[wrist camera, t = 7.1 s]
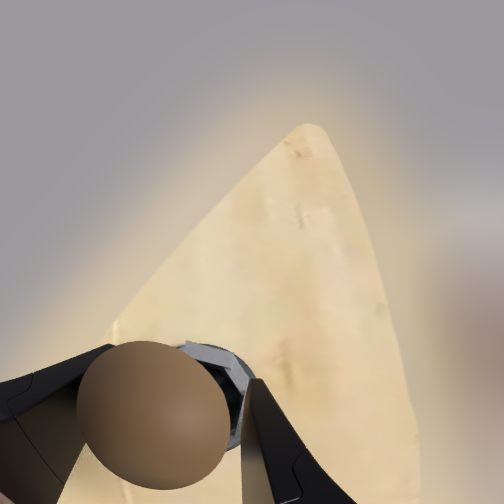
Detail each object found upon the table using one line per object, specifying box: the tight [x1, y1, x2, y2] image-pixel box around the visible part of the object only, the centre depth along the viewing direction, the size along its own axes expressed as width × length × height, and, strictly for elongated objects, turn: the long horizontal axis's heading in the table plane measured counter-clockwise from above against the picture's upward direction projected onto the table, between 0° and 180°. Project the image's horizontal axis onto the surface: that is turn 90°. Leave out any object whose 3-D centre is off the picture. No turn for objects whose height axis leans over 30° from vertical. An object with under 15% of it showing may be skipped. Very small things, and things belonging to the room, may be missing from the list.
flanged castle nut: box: [176, 340, 256, 452], centre depth 16 cm, size 9×9×5 cm
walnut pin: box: [77, 341, 230, 490], centre depth 11 cm, size 4×4×14 cm
